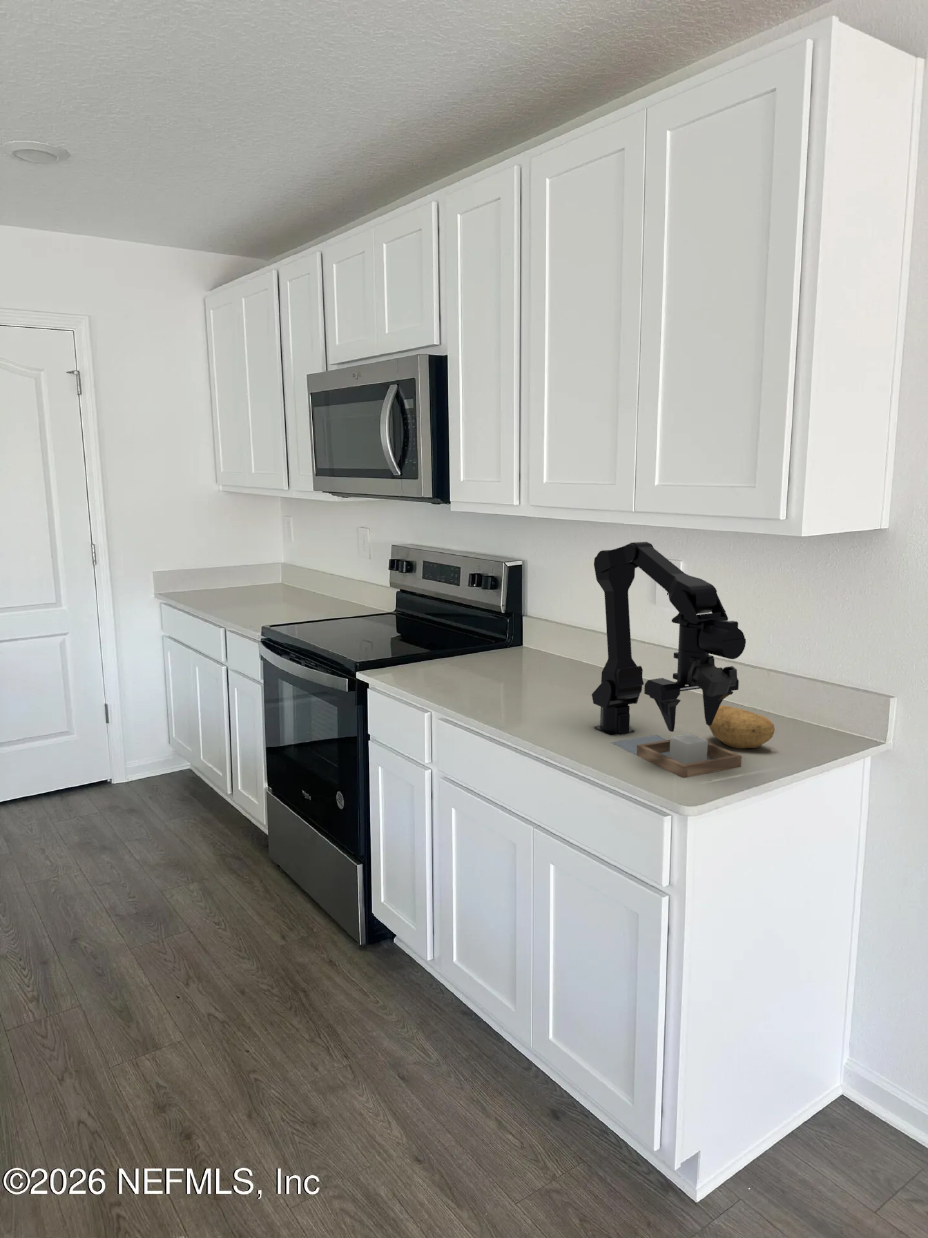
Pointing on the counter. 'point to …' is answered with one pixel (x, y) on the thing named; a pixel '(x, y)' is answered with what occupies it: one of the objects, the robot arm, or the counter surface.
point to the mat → (632, 743)
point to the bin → (721, 762)
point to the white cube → (688, 748)
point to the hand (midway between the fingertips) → (690, 728)
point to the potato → (741, 728)
